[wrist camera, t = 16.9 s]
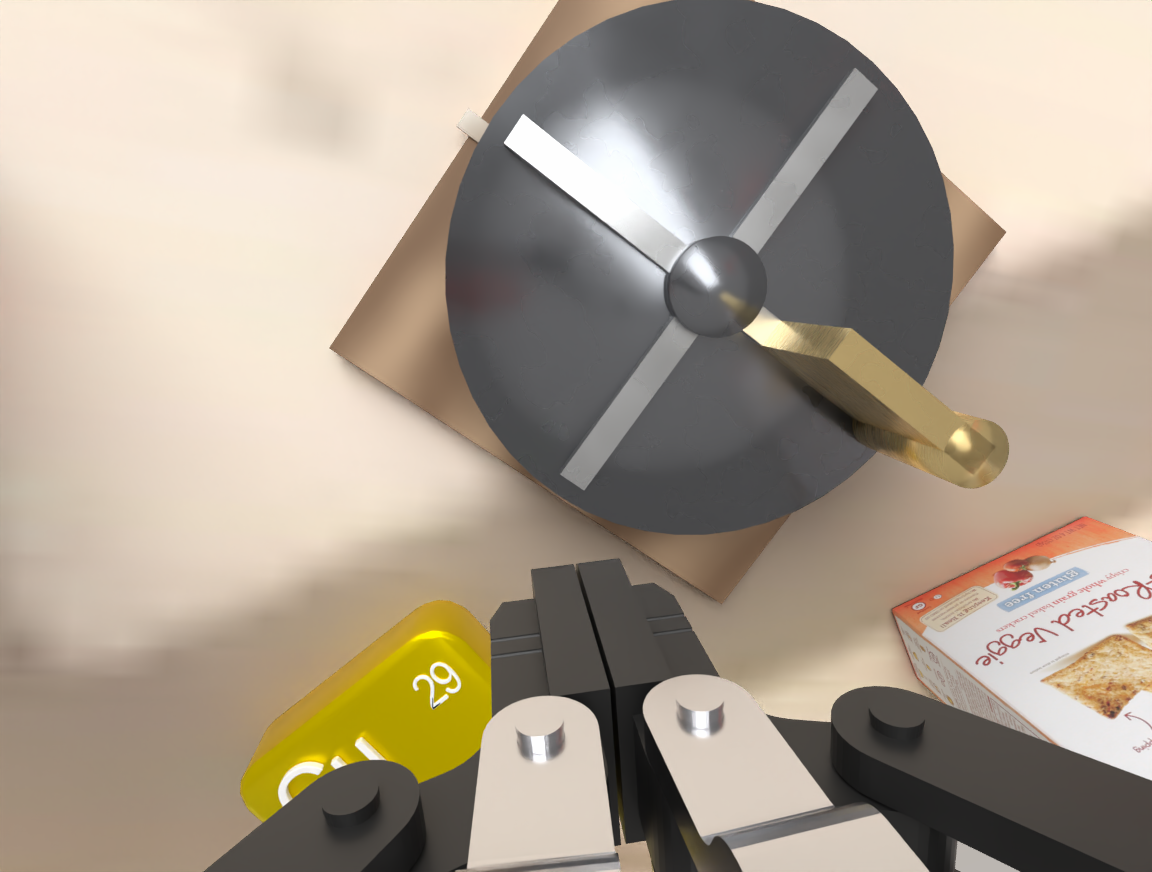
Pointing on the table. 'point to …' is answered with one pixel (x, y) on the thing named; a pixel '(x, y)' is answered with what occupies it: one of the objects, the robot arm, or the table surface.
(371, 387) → the table surface
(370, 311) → the winch base
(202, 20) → the table surface
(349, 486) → the table surface
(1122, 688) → the cracker box
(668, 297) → the handwheel
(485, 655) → the element tile
